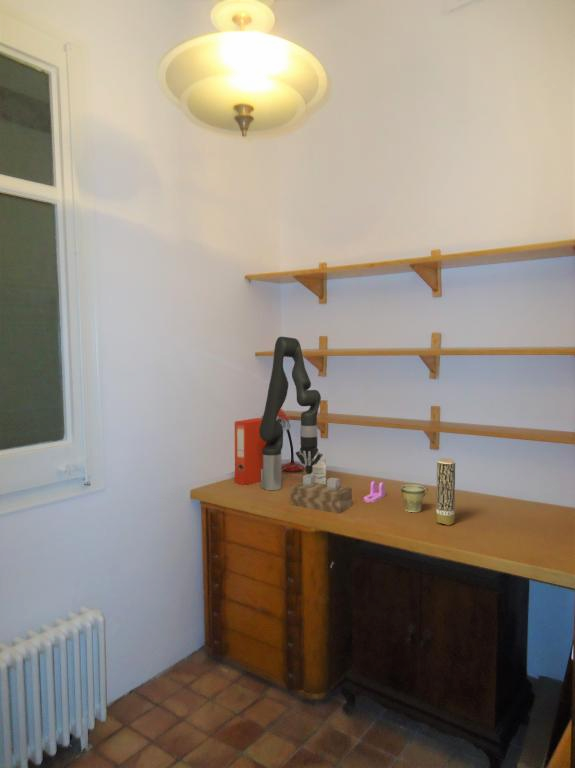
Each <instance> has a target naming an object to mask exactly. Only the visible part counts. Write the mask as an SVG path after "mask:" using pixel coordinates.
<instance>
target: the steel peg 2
mask: <svg viewBox="0 0 575 768" xmlns="http://www.w3.org/2000/svg"><path fill="white" fill-rule="evenodd" d="M326 484H327V490H330V491H338V490H339V489H340V486H341V485H340V484H341V483H340V478H339V477H338V478H337V477H330V478H326Z"/></svg>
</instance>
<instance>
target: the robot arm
mask: <svg viewBox="0 0 575 768" xmlns="http://www.w3.org/2000/svg"><path fill="white" fill-rule="evenodd" d="M284 357H286V358H292V360H293V362H294V365H293V368H292V370H291V377H292V381H293V383H294V386H295V391H296V402H297V404H298V405H299V406H300V407H309V408H308V409H307V410H305V411H302V412H301V413H300V435H299V436H300V448H299V450H298V451H296V452H295V456H297V458H298V460H299V462H300V463H301V464H302V465H305V473H306V475H307V474H311V473H312V472H313V465H314V464H317V462H320V461H319V460H320V459H322V457H323V453H321V452H320V451H319V449H318V433H319V432H318V417H317V416H318V412H319V407H320V405H321V399H322V396H321V393H320V391H318V390H316V389H310V388H311V385H312V382H311V380H310V377H309V375H308V372H307V369H306V365H305V362H304V357H303V352H302V346H301V344H300V341H299V340H298V338H295V337H294V338H293V337H289V336H279V337H277V339H276V341H275V344H274V351H273V358H272V359H273V361H272V362H273V363H272V369H271V376H270V380H269V385H268V390H267V397H266V401H265V407H264V411H263V414H262V421H261V425H260V429H259V434H260V437H261V438H262V440H264V441H267V442H266V445H265V446H264V447H263V450H262V456H263V468H262V469H261V482H260V488H261V489H263V490H265V491H278V490H281V489H282V449H283V446H284V428H283V425H282V424H281V422H279V421H278V420H277V418H278V415H279V412H280V410H281V409H282V407H283V406H284V403H285V401H286V400H287V396H288V391H289V381H288V377H287V374H286V372H285V369H284ZM315 456H316V457H315ZM314 458H315V460H314ZM313 460H314V461H313Z"/></svg>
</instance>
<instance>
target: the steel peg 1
mask: <svg viewBox="0 0 575 768" xmlns="http://www.w3.org/2000/svg"><path fill="white" fill-rule="evenodd" d="M302 482H303V487H310V488H312V487H314V486H315V475H309V474H307V473H306V474H305V475H303V476H302Z"/></svg>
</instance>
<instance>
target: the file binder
mask: <svg viewBox="0 0 575 768" xmlns="http://www.w3.org/2000/svg"><path fill="white" fill-rule="evenodd" d="M262 418H263V417H262ZM262 418H261V417H255V418H249V419H243V420H242V419H241V420H236V421H234V483H235V484H236V483H237V485H240V484H241V486H244V485H247V486H250V485H254V484H256V482H257V483H259V481H261V469H262V468H263V456H262V450H263V447H264V446H265V445H266V442H267V441H264V440H262V438H261V437H260V434H259V429H260V425H261V421H262ZM253 483H254V484H253ZM249 484H250V485H249Z"/></svg>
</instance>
